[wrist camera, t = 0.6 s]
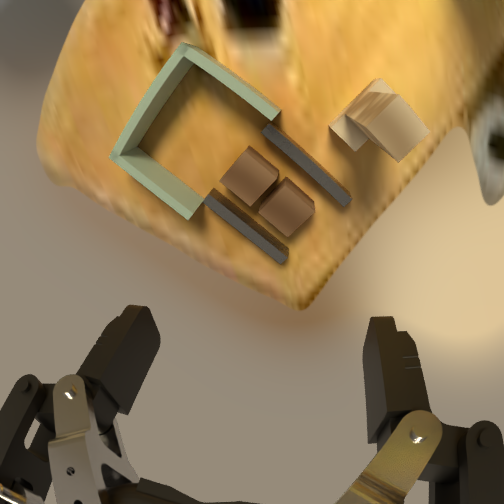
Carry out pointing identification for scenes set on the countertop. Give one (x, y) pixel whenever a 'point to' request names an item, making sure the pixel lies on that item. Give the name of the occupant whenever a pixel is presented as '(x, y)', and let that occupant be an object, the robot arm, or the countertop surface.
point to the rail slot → (252, 227)
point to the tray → (150, 106)
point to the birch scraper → (380, 121)
